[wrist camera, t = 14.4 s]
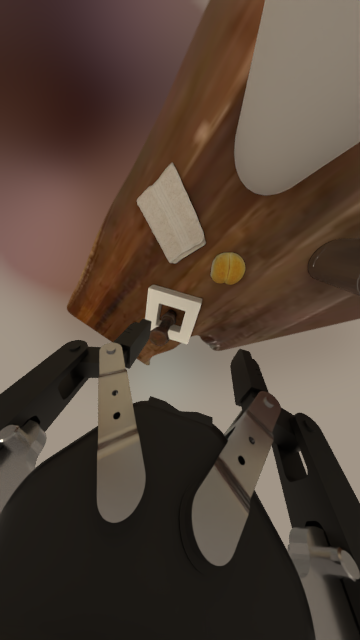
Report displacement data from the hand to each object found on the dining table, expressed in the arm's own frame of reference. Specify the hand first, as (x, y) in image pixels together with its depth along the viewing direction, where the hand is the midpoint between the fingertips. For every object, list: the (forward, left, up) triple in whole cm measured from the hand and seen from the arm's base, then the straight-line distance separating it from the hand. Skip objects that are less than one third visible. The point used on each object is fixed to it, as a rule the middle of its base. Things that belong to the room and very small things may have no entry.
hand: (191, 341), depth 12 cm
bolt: (+7, +17, -33) cm, 38 cm away
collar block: (+7, +17, -33) cm, 38 cm away
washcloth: (+12, -9, -34) cm, 37 cm away
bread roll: (-5, -2, -34) cm, 34 cm away
